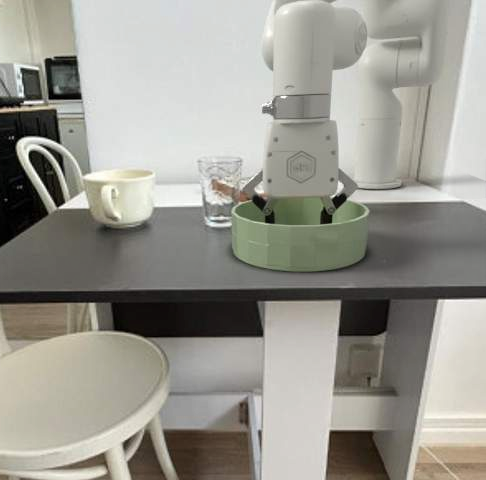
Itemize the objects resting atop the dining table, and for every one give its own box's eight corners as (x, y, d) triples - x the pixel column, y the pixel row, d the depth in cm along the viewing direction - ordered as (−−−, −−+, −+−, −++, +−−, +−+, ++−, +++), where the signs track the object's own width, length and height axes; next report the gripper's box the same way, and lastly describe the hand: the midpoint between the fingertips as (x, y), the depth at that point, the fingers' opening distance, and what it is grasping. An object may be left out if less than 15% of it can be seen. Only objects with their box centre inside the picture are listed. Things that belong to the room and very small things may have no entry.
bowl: (236, 231, 74) (236, 196, 72) (351, 230, 72) (354, 194, 70) (227, 271, 57) (226, 226, 55) (379, 272, 54) (384, 225, 52)
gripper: (234, 114, 56) (237, 247, 62) (375, 108, 54) (363, 246, 60) (237, 112, 63) (240, 232, 69) (363, 107, 61) (353, 231, 67)
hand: (297, 238), depth 65 cm, fingers closed on popsicle, 6 cm apart
